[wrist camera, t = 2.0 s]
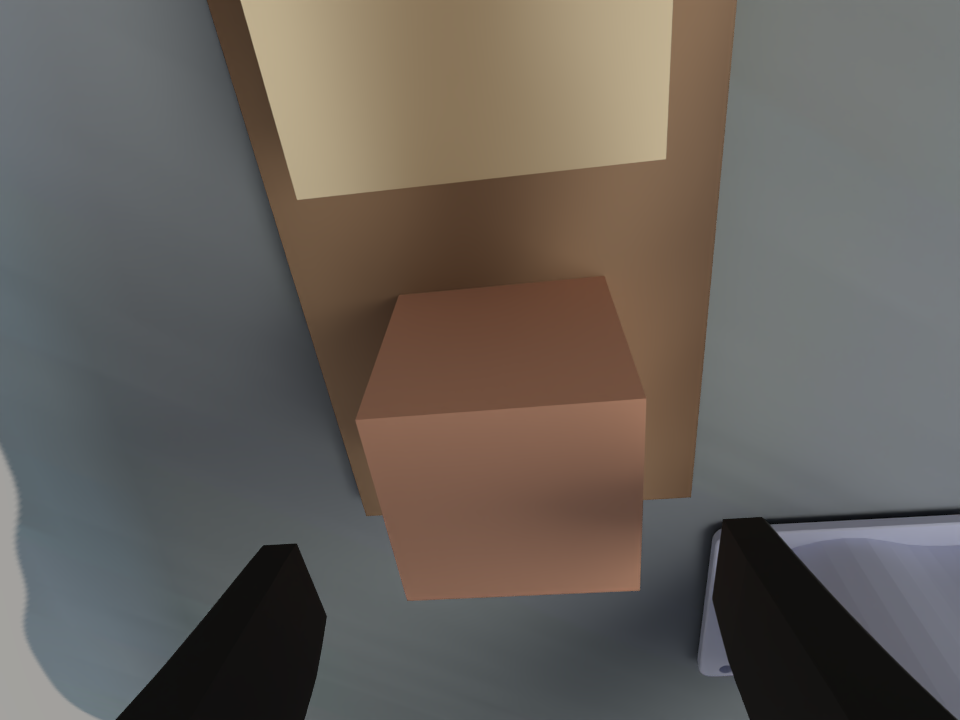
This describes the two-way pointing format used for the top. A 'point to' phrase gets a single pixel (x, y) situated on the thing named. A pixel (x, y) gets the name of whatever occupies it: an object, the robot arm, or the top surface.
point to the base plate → (520, 242)
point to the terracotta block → (508, 441)
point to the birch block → (460, 88)
